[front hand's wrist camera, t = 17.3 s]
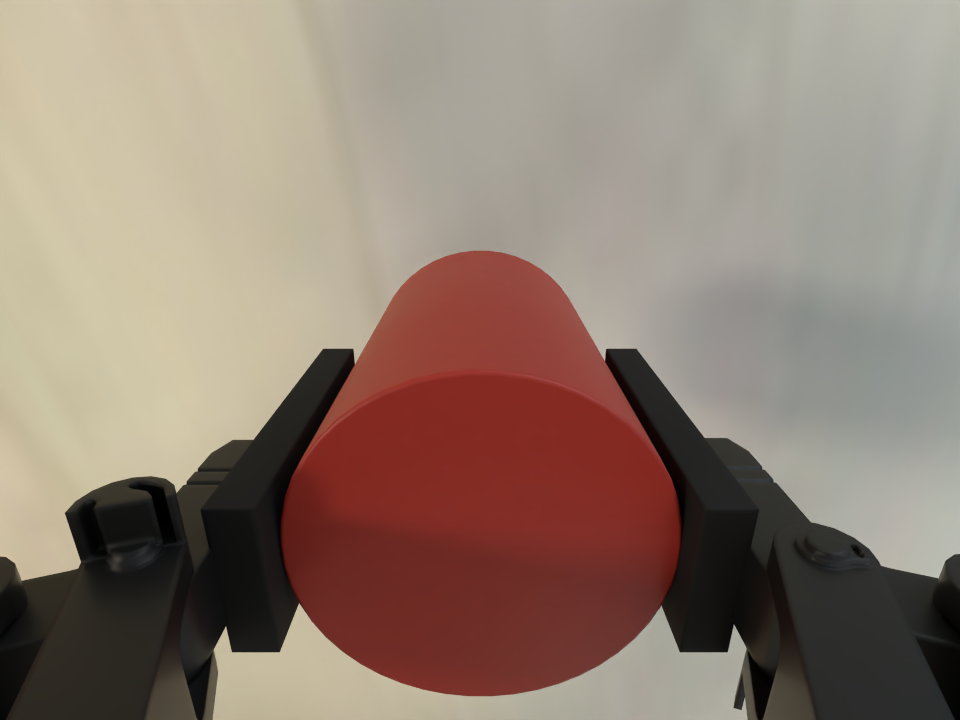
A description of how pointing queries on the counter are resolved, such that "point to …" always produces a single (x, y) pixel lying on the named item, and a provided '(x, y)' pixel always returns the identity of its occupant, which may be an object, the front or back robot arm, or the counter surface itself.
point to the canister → (481, 492)
